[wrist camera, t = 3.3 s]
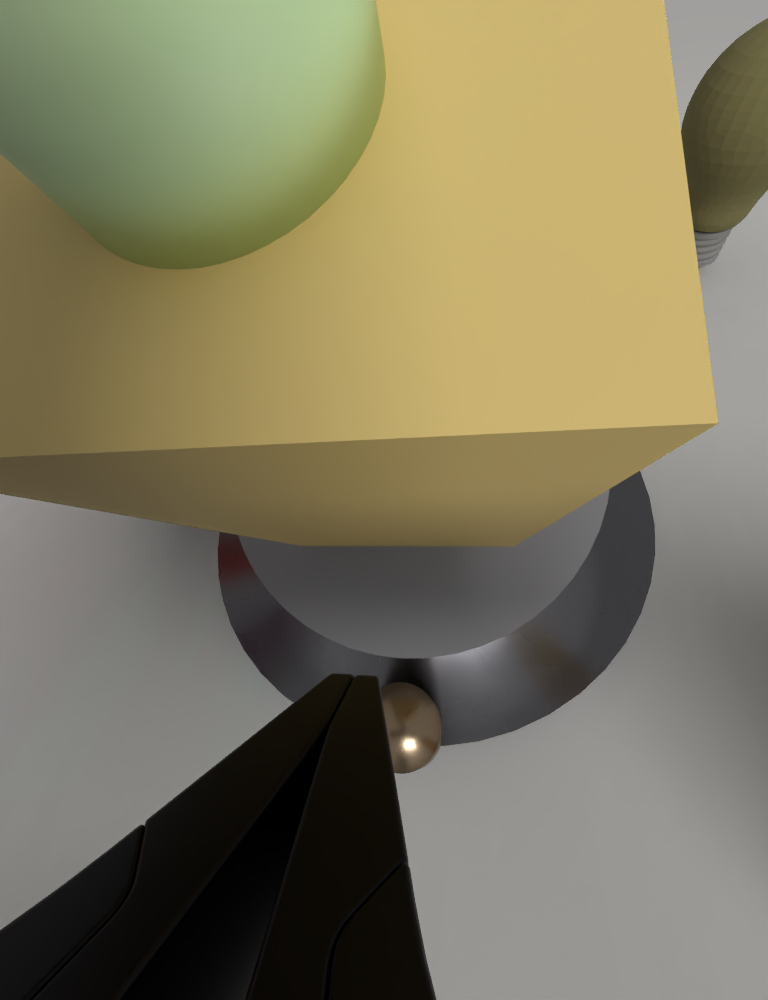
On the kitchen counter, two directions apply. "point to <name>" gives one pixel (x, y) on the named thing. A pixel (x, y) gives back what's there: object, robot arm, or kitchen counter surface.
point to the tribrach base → (477, 672)
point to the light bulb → (727, 141)
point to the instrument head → (350, 289)
